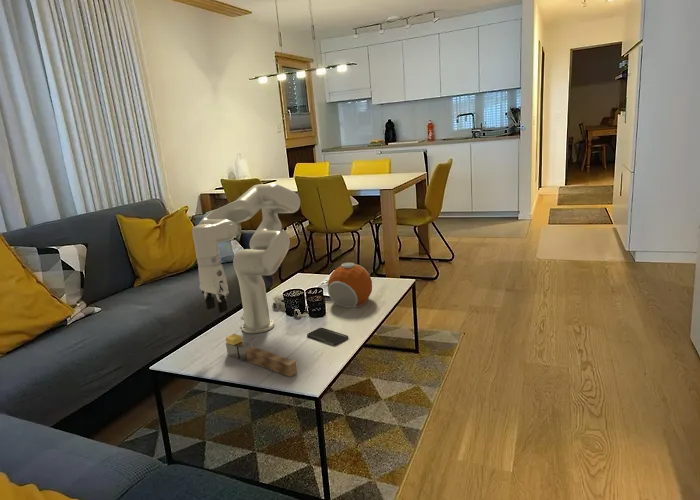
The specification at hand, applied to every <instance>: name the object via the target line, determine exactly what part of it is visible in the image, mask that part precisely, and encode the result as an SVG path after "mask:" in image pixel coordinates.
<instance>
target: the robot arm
mask: <svg viewBox="0 0 700 500" xmlns="http://www.w3.org/2000/svg"><path fill="white" fill-rule="evenodd" d="M300 206H301V198H300V197H299V195H298V193H296V192H295V191H293V190H291V189H289V188H287V187H285V186H282V185H280V184H277V183H265V184H264V183H263V184H262V183H259V184H254V185H252V186H251V187H250V188H249V189H247V190H246V191H245V192H244V193H243V194H241V196H239V197H237V199H235V200H234V201H231V202H229V203H227V204H225V205H223V206H220V207H217V208H215V209H214V210H213V211H211V212H209V213H208V214H207V215H205V216H204V217H203V218H202V219H201V220H200V221H199V223H198V225H195V226H192V230H191V233H192V239H193V244H194V251H195V256H196V262H197V266H198V268H197V269H198V281H199V285H198V287H199V290H201V293H202V295H203V299H204V300H205V305H206V310H208V311H210V310H211V309H215V308H216V304H217V309H218V310H217V311H218V313H219V314H222V313H225V312H227V311H228V303H227V299H228V296H229V294H230V291H229V285H228V279H227V276H226V272H225V269H224V266H223V263H222V262H221V255H220V249H219V243H223V242H229V241H231V240H233V239H234V238H235V237H236V236H237V234H238V226H237V224H239V223H242V222H246V221H249V220H250V219H251V218H253V217H254V216H255V215H256V214H257V213H258V212H259V211H260V210H261V213H262V220H261V222H260V224H259V225H258V227H257V228H256V230H255V232H254V233H253V235H252V236H251V238H250V239H249V248H245V249H241V250H239V251H237V252H236V253H235V254H234V256H233V261H232V264H233V268H234V271H235V274H236V276H237V281H238V285H239V291H240V297H241V304H242V305H241V306H242V311H243V314H242V315H241V316H240V320H241V321H243V324H242V326H241V331H243V332H244V333H246V334H260V333H264V332H267V331H270V330H271V329H273V328H274V326H275V321H274V320H273V319H271V318H270V312H269V305H268V297H267V290H266V284H265V281H264V278H263V276H271V275H273V274H275V273H276V272H277V271H278V268H280V266H281V264H282V263H283V261H284V259H285V257H286V256H287V253H288V252H289V250H290V244H291V241H290V237H289V234H288V233H287V232H286V231H284V230H282V229H283V225H282V221H281V220H280V218H279V215H278V214H294V213H296V212H298V211H299V209H300ZM213 295H215V296H216V299H217V301H218V302H217V301H216V302H215V297H214V296H213ZM220 295H221V296H220Z"/></svg>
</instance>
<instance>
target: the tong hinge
mask: <svg viewBox="0 0 700 500" xmlns="http://www.w3.org/2000/svg"><path fill="white" fill-rule="evenodd" d="M225 347H226V348H225V349H226V354H227V356H229V357H232V358H234V359H236V360H240V362H248V360H247V354H246V350H248V349H250V348H251V347H253V346H252V344H251V343H248V342H244V341H242V342H240V343H238V344H236V345H231V344H228V343H226V342H225Z"/></svg>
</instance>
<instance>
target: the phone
mask: <svg viewBox="0 0 700 500" xmlns="http://www.w3.org/2000/svg"><path fill="white" fill-rule="evenodd" d="M306 336H307V338H309V339H312V340H315V341H318V342H320V343H324V344H326V345H330V346H333V347H337V346H339V345H340V344H342V343H344V342H346V341H348V340H349V339H350V338H349V335H347V334H343V333H340V332H337V331H334V330H331V329H327V328H325V327H319V328H318V327H317V328H316V329H315V330H312V331H310V332H309V333H307V334H306Z"/></svg>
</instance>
